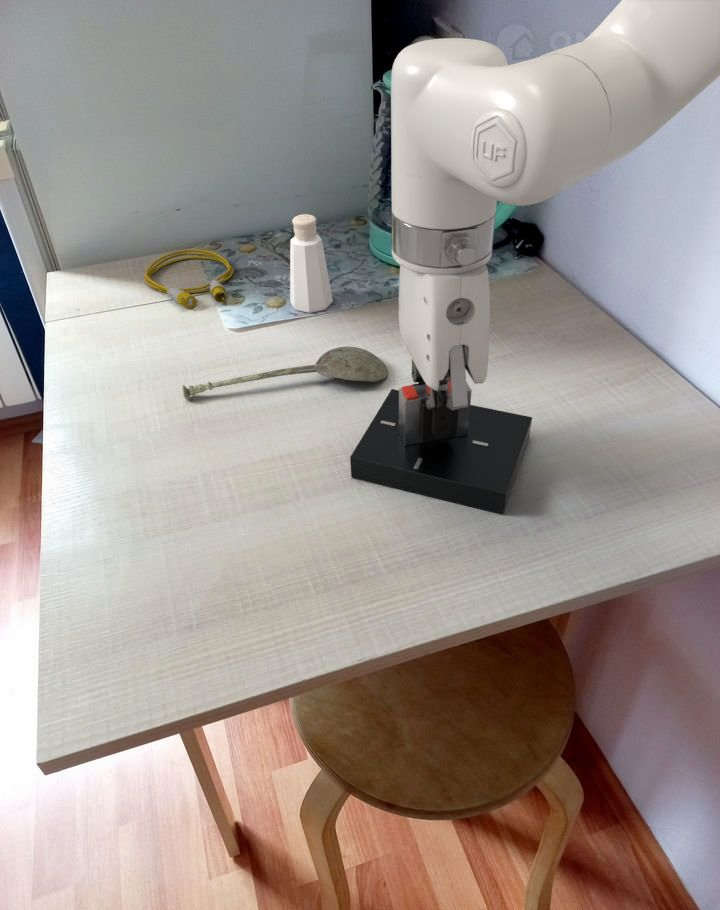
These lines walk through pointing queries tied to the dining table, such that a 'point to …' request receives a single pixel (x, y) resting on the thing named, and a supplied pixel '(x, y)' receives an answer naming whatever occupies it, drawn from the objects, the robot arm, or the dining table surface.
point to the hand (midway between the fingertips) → (433, 426)
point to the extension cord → (185, 295)
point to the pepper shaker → (308, 268)
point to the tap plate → (446, 457)
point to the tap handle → (411, 413)
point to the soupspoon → (317, 369)
